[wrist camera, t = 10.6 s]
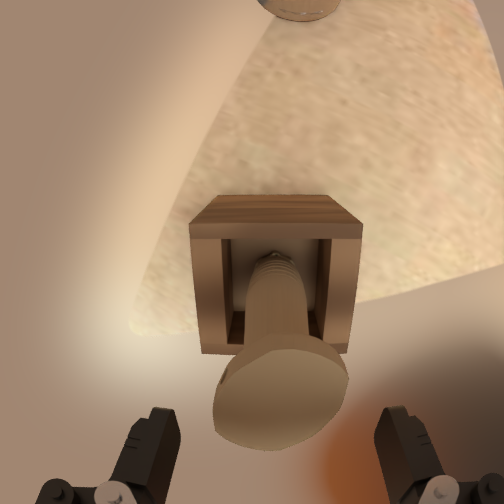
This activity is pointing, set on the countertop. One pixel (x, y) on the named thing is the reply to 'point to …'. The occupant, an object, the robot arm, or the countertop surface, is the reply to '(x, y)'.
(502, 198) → the countertop surface
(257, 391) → the handle
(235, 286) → the wooden box
